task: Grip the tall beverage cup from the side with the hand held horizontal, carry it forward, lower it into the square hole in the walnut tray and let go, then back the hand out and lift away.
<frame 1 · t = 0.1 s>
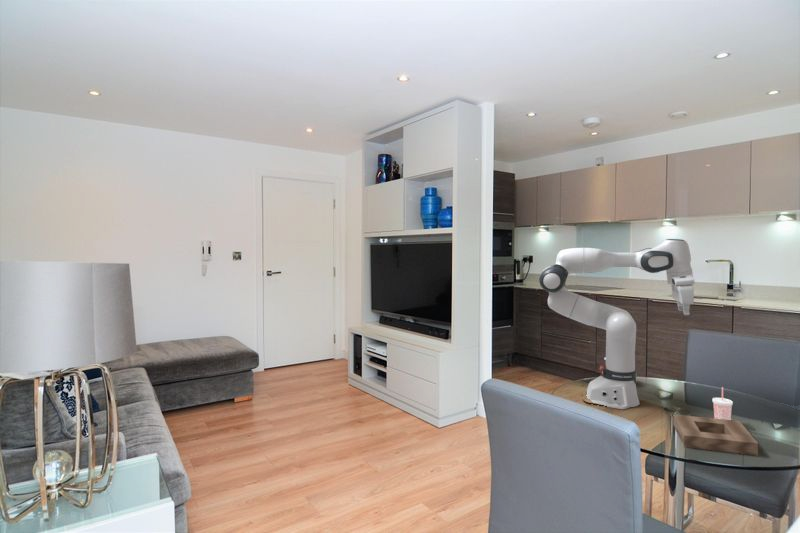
hand: (683, 312, 176), 39 cm above the table, tool pointing down, fingers open, 8 cm apart
walnut tray: (712, 439, 151), on the table
beverage cup: (722, 424, 162), on the table
coffee cup: (616, 384, 210), on the table
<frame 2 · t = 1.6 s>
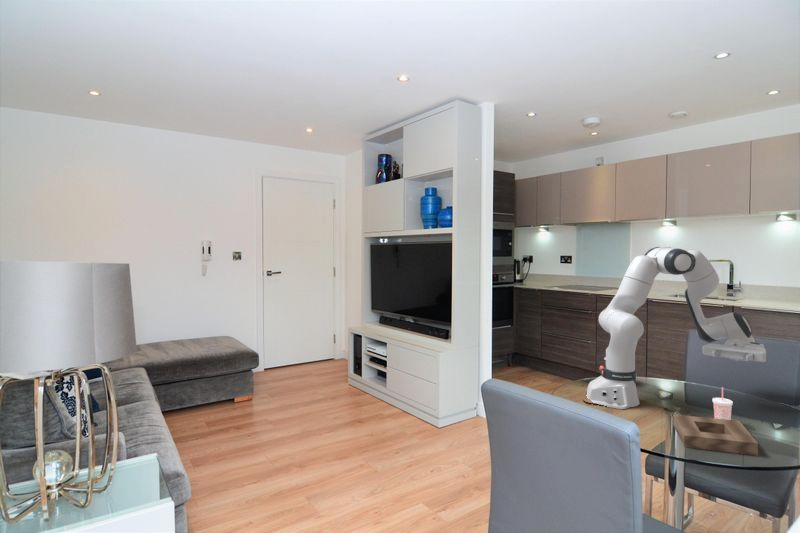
hand: (729, 357, 169), 23 cm above the table, tool horizontal, fingers open, 8 cm apart
nothing on the table moved.
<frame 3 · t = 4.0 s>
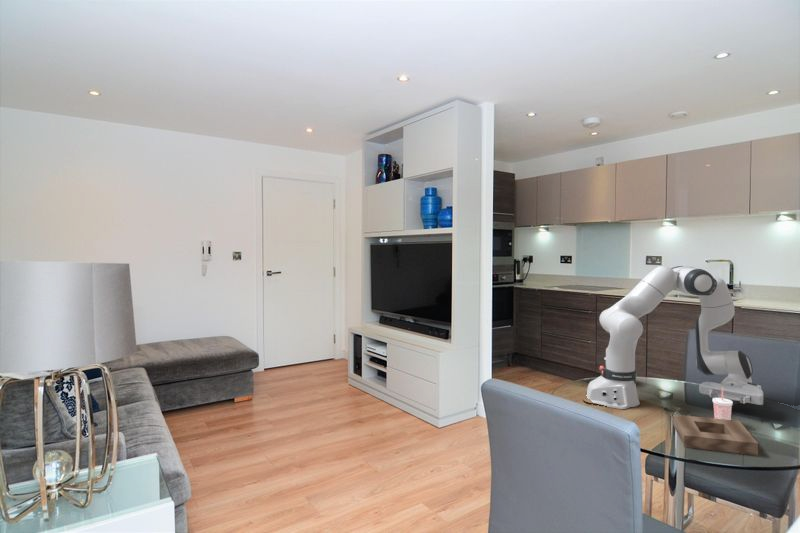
hand: (726, 398, 167), 7 cm above the table, tool horizontal, fingers open, 8 cm apart
nothing on the table moved.
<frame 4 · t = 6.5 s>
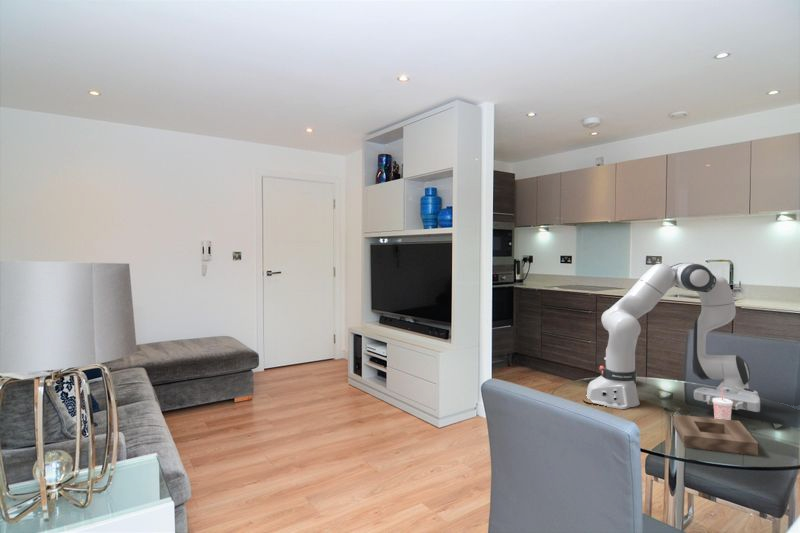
hand: (721, 405, 161), 8 cm above the table, tool horizontal, fingers closed on beverage cup, 6 cm apart
beverage cup: (722, 424, 162), on the table, touching gripper
everything else where it was.
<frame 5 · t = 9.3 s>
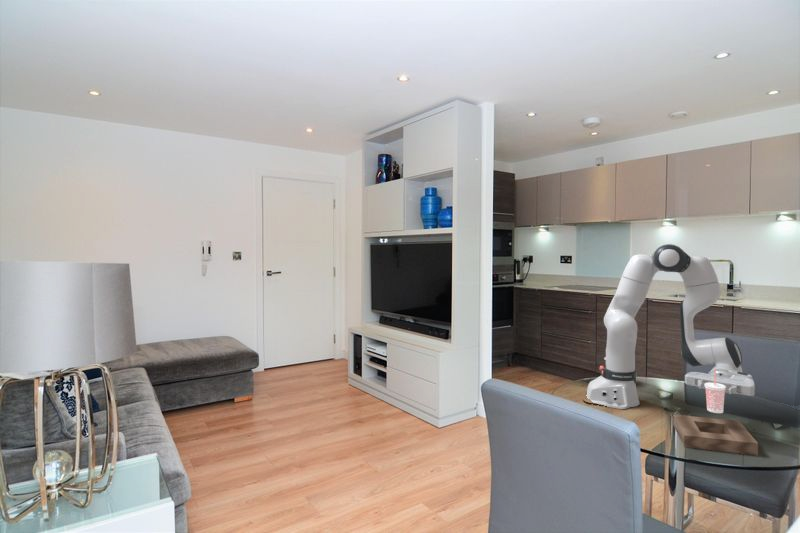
hand: (714, 389, 152), 17 cm above the table, tool horizontal, fingers closed on beverage cup, 6 cm apart
beverage cup: (715, 411, 153), point 9 cm above the table, touching gripper
everything else where it was.
when the fingers open (9 cm above the table, at t = 12.0 s): beverage cup drops 2 cm, resting in walnut tray.
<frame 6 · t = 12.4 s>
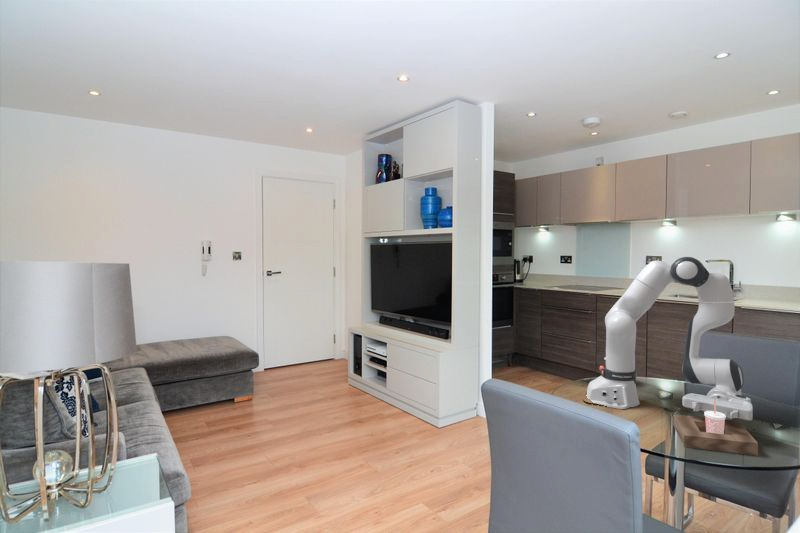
hand: (711, 412, 150), 10 cm above the table, tool horizontal, fingers open, 8 cm apart
beverage cup: (714, 440, 150), resting in walnut tray
everything else where it was.
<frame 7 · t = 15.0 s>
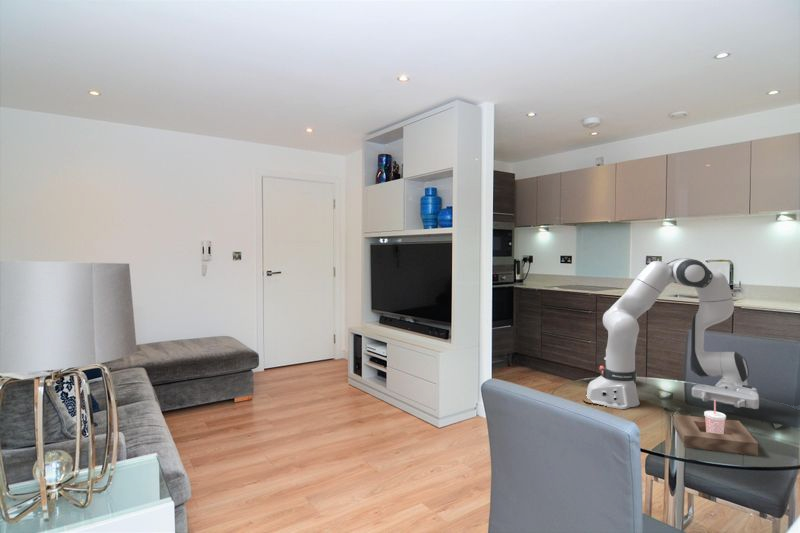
hand: (720, 402, 159), 9 cm above the table, tool horizontal, fingers open, 8 cm apart
nothing on the table moved.
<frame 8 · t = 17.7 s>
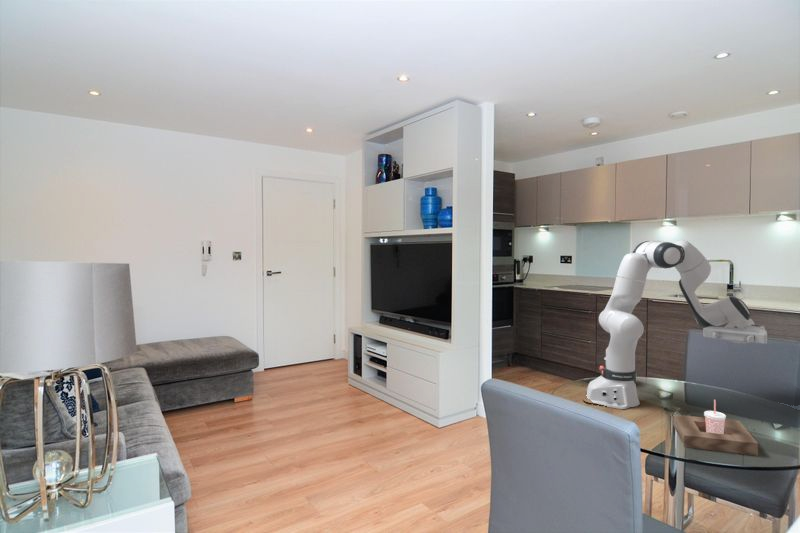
hand: (730, 338, 168), 30 cm above the table, tool horizontal, fingers open, 8 cm apart
nothing on the table moved.
at the end: beverage cup 0.6 cm from the target spot, resting in walnut tray; beverage cup tilted 0°; the gripper is holding nothing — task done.
